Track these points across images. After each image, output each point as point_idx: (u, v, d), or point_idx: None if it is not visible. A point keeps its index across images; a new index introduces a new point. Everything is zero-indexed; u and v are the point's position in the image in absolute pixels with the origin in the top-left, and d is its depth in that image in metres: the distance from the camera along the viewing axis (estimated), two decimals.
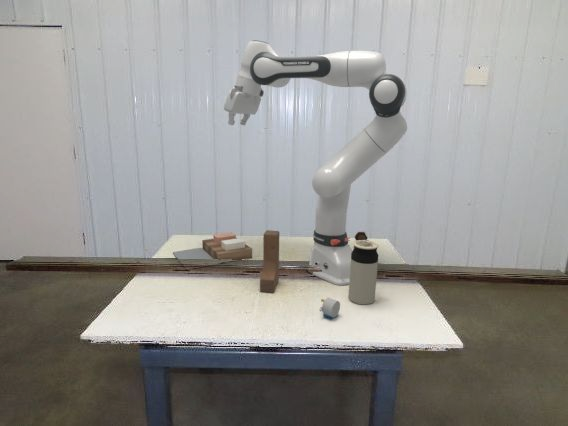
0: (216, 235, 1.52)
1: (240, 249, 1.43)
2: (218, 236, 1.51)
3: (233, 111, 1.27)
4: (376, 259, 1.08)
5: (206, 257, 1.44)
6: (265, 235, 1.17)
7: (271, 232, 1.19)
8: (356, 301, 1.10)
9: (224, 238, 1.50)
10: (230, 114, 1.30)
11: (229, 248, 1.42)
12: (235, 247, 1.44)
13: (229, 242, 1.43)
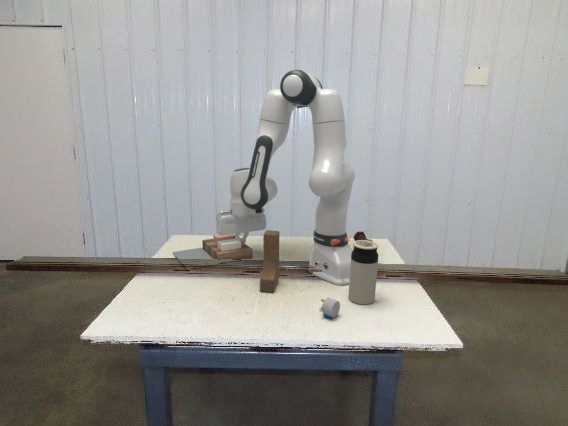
0: (216, 235, 1.52)
1: (240, 249, 1.43)
2: (218, 236, 1.51)
3: (222, 233, 1.41)
4: (376, 259, 1.08)
5: (206, 257, 1.44)
6: (265, 235, 1.17)
7: (271, 232, 1.19)
8: (356, 301, 1.10)
9: (224, 238, 1.50)
10: (235, 234, 1.46)
11: (225, 249, 1.42)
12: (231, 248, 1.43)
13: (225, 243, 1.43)
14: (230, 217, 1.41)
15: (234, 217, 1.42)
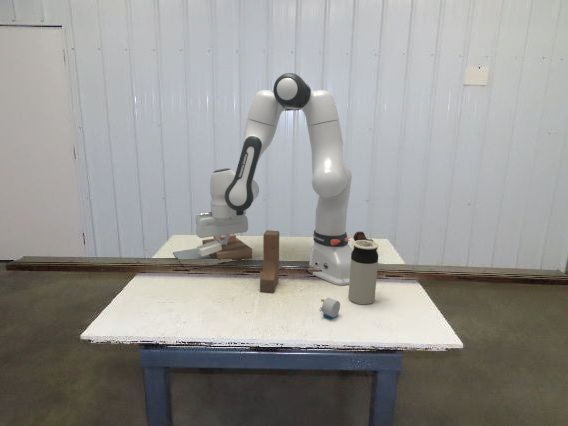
0: None
1: (240, 249, 1.43)
2: None
3: (201, 236, 1.37)
4: (376, 259, 1.08)
5: (206, 257, 1.44)
6: (265, 235, 1.17)
7: (271, 232, 1.19)
8: (356, 301, 1.10)
9: (224, 238, 1.50)
10: (216, 237, 1.42)
11: (205, 253, 1.38)
12: (211, 251, 1.39)
13: (204, 247, 1.39)
14: (210, 219, 1.37)
15: (214, 219, 1.38)
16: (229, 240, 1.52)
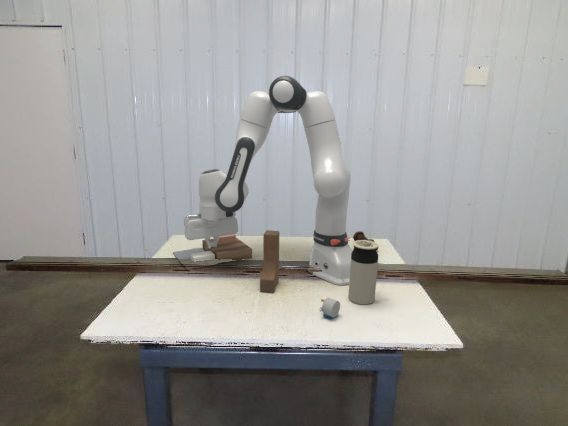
0: None
1: (240, 249, 1.43)
2: None
3: (190, 238, 1.34)
4: (376, 259, 1.08)
5: None
6: (265, 235, 1.17)
7: (271, 232, 1.19)
8: (356, 301, 1.10)
9: (224, 238, 1.50)
10: (205, 239, 1.40)
11: None
12: None
13: (198, 256, 1.38)
14: (199, 221, 1.35)
15: (203, 221, 1.35)
16: (229, 240, 1.52)
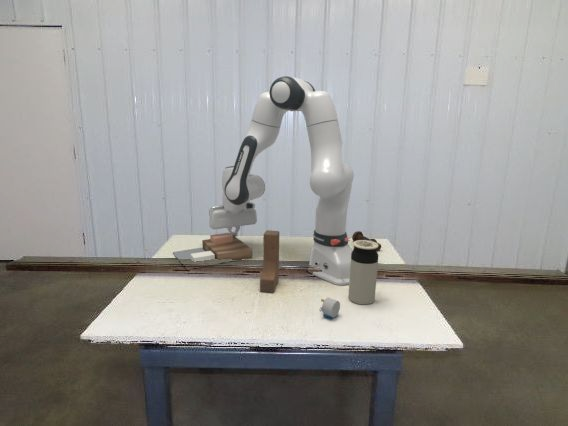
0: (213, 235, 1.51)
1: (240, 249, 1.43)
2: (215, 236, 1.50)
3: (214, 227, 1.48)
4: (376, 259, 1.08)
5: None
6: (265, 235, 1.17)
7: (271, 232, 1.19)
8: (356, 301, 1.10)
9: (221, 238, 1.50)
10: (227, 228, 1.53)
11: None
12: None
13: (198, 256, 1.38)
14: (222, 212, 1.48)
15: (226, 212, 1.49)
16: (226, 240, 1.51)
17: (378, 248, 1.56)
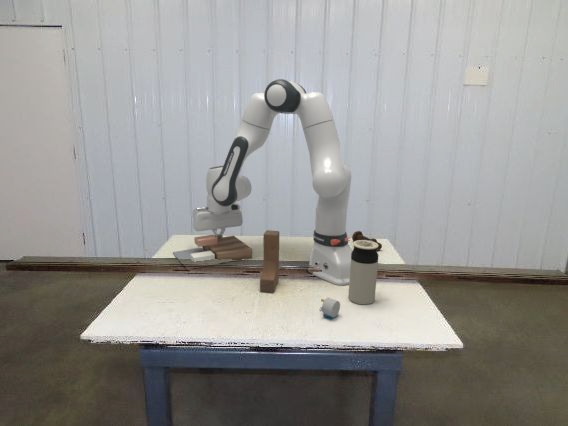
0: (197, 238, 1.48)
1: (240, 249, 1.43)
2: (199, 239, 1.47)
3: (198, 229, 1.45)
4: (376, 259, 1.08)
5: None
6: (265, 235, 1.17)
7: (271, 232, 1.19)
8: (356, 301, 1.10)
9: (205, 241, 1.46)
10: (212, 230, 1.50)
11: None
12: None
13: (198, 256, 1.38)
14: (206, 213, 1.45)
15: (210, 213, 1.46)
16: (210, 243, 1.48)
17: (379, 248, 1.56)
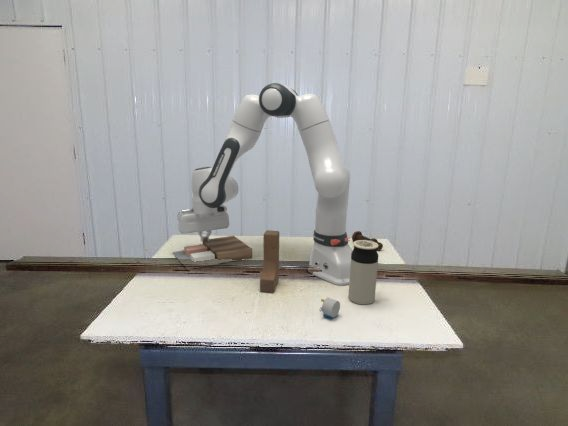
0: (187, 247, 1.47)
1: (240, 249, 1.43)
2: (188, 248, 1.46)
3: (183, 232, 1.42)
4: (376, 259, 1.08)
5: None
6: (265, 235, 1.17)
7: (271, 232, 1.19)
8: (356, 301, 1.10)
9: (195, 251, 1.45)
10: (198, 233, 1.47)
11: None
12: None
13: (198, 256, 1.38)
14: (191, 216, 1.42)
15: (196, 216, 1.43)
16: None
17: (380, 247, 1.56)
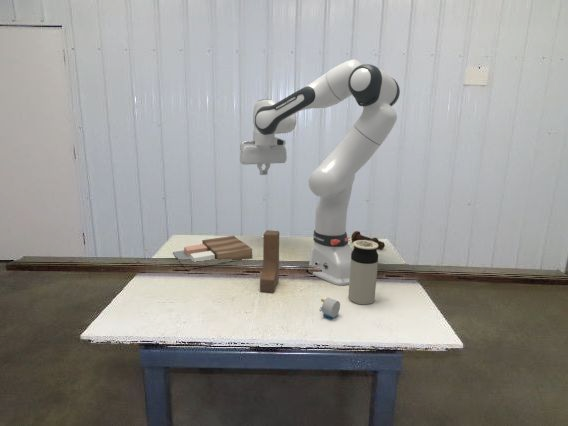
0: (187, 247, 1.47)
1: (240, 249, 1.43)
2: (188, 248, 1.46)
3: (246, 162, 1.47)
4: (376, 259, 1.08)
5: None
6: (265, 235, 1.17)
7: (271, 232, 1.19)
8: (356, 301, 1.10)
9: (195, 251, 1.45)
10: (257, 166, 1.52)
11: None
12: None
13: (198, 256, 1.38)
14: (253, 147, 1.47)
15: (257, 147, 1.48)
16: None
17: (382, 246, 1.58)
